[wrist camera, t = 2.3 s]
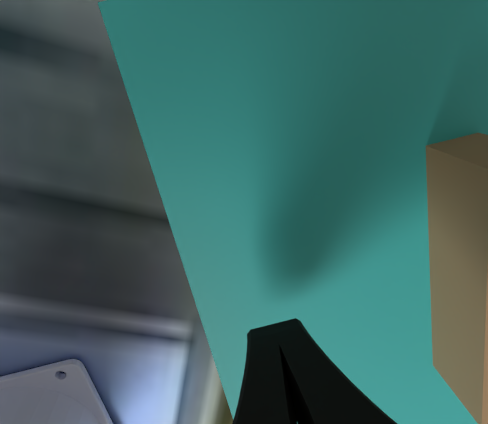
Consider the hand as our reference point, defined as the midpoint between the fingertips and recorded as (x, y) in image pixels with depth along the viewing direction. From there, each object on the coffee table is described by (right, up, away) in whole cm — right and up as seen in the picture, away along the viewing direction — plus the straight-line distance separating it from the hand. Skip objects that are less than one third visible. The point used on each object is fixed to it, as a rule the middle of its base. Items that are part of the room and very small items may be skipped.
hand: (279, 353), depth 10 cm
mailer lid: (+5, +2, +2) cm, 6 cm away
